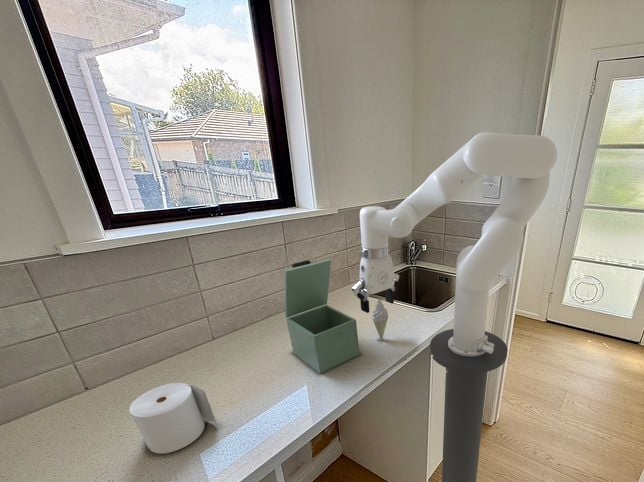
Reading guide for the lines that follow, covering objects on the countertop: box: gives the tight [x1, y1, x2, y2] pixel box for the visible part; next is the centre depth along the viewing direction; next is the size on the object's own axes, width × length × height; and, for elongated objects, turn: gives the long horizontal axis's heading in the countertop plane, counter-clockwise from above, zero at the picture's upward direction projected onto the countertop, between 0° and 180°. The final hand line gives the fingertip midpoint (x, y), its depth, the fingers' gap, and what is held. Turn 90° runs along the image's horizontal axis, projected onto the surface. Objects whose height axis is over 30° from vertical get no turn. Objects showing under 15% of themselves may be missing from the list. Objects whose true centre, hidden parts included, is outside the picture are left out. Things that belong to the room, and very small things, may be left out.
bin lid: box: [284, 258, 332, 319], centre depth 97 cm, size 16×14×5 cm
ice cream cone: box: [371, 297, 389, 341], centre depth 105 cm, size 5×5×15 cm
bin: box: [285, 304, 360, 374], centre depth 99 cm, size 16×14×12 cm
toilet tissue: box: [129, 382, 218, 455], centre depth 71 cm, size 11×12×10 cm
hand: (377, 306), depth 103 cm, fingers open, 9 cm apart
